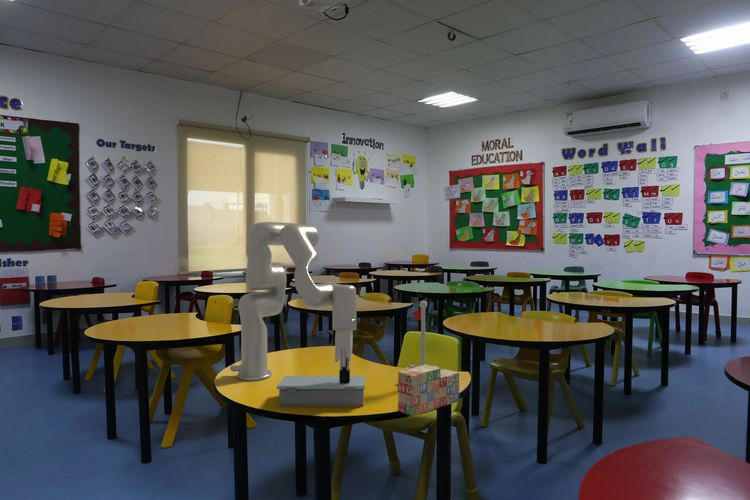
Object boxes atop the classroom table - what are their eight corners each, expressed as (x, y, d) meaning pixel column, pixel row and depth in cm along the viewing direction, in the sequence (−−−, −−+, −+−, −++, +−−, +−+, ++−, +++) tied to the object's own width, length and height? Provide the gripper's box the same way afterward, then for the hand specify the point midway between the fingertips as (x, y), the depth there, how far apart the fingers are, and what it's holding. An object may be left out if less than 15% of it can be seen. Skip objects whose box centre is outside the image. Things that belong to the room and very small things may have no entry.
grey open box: (279, 406, 147) (279, 390, 147) (286, 393, 159) (286, 379, 159) (363, 406, 147) (363, 390, 147) (364, 394, 159) (364, 379, 159)
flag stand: (447, 382, 173) (447, 299, 173) (431, 391, 162) (431, 303, 162) (415, 376, 180) (416, 297, 180) (398, 385, 170) (398, 301, 169)
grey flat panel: (276, 393, 146) (276, 386, 146) (284, 382, 159) (284, 375, 159) (364, 393, 146) (364, 386, 146) (365, 382, 159) (365, 375, 159)
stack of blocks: (444, 396, 157) (444, 359, 157) (459, 401, 153) (459, 363, 152) (397, 411, 143) (397, 370, 143) (412, 417, 139) (412, 375, 138)
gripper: (334, 320, 158) (334, 375, 158) (330, 328, 143) (330, 389, 143) (357, 320, 158) (357, 375, 158) (355, 328, 143) (355, 389, 143)
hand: (344, 382), depth 150 cm, fingers closed
